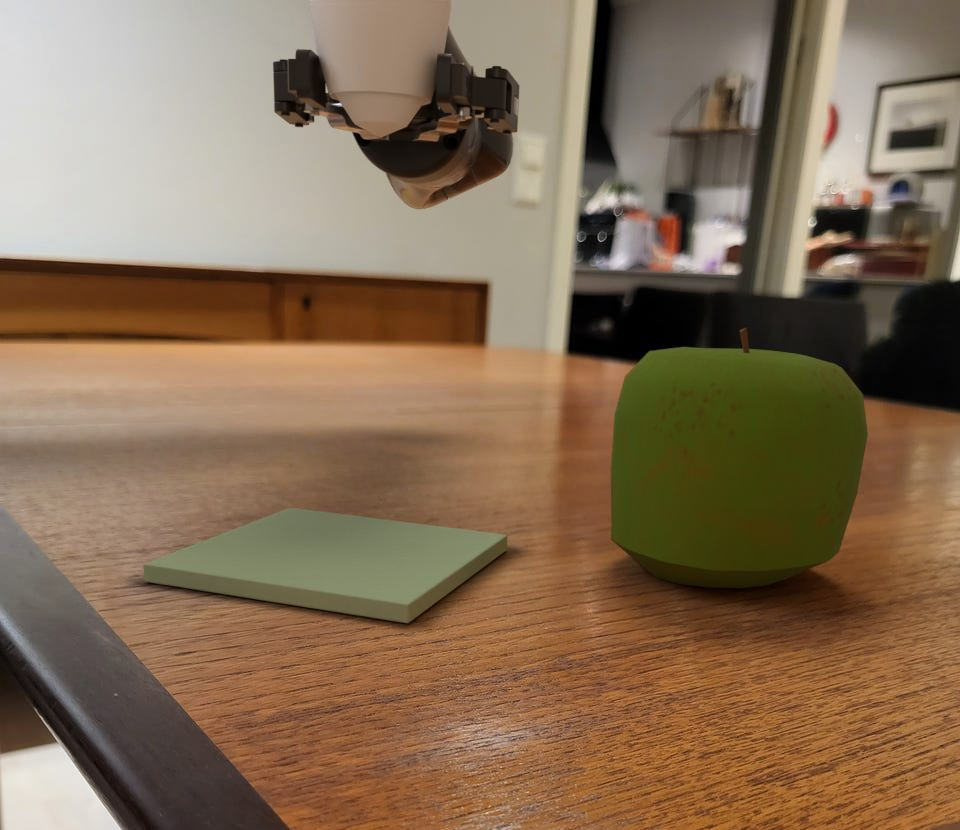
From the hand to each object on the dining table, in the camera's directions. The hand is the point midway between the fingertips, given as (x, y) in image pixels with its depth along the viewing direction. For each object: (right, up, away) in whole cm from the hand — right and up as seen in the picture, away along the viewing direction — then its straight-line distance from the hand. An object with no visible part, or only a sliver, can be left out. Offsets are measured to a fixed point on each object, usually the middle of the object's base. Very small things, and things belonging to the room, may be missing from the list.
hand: (373, 75), depth 50 cm
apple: (+16, -25, -3) cm, 30 cm away
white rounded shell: (0, -10, +6) cm, 12 cm away
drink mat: (-1, -25, -5) cm, 25 cm away
